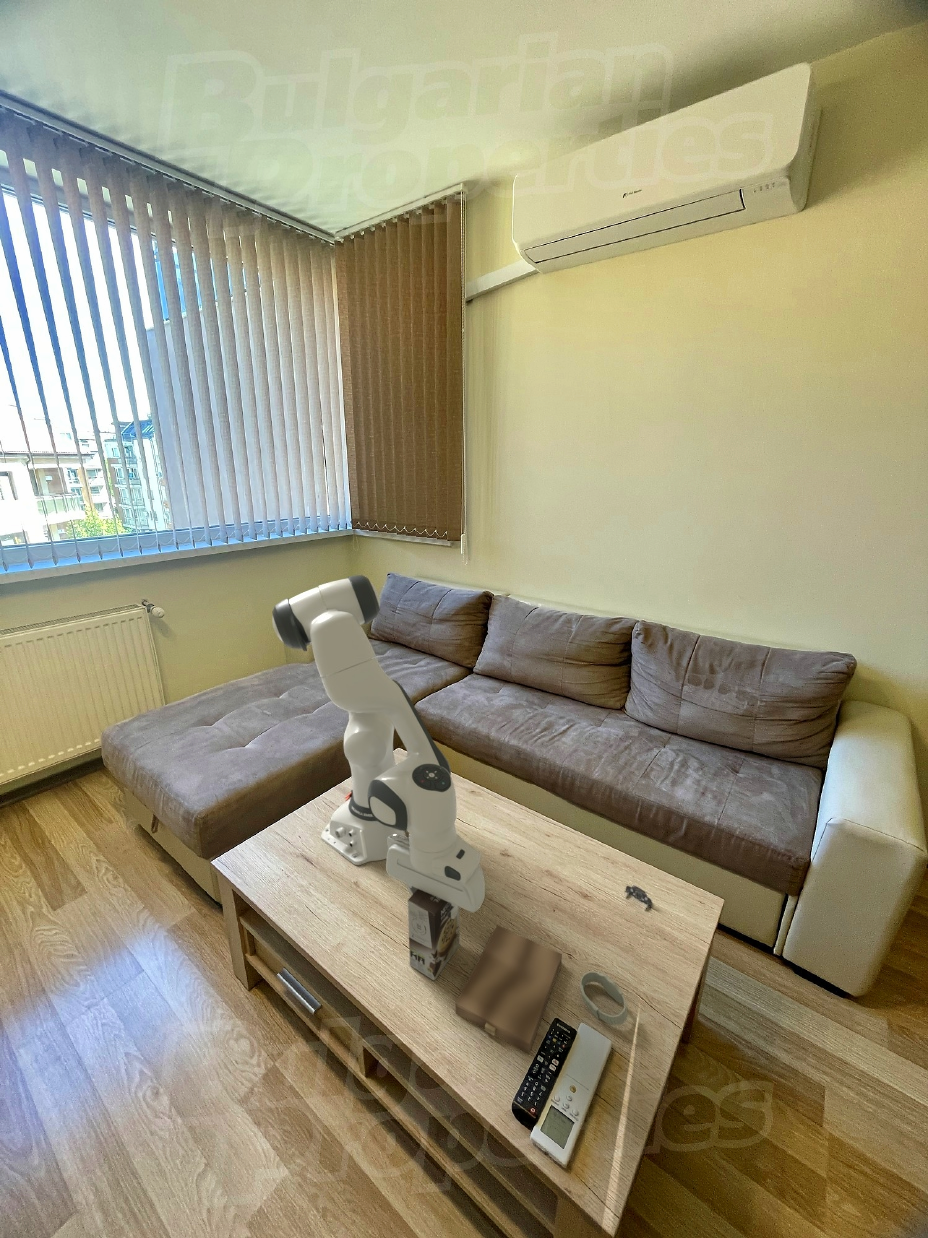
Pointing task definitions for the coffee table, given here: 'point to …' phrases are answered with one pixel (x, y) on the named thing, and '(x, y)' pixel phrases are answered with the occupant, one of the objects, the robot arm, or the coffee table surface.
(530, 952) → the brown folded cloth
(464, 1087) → the coffee table surface
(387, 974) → the coffee table surface
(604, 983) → the grey oval ring piece
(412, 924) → the coffee box
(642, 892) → the dark grey irregular piece
